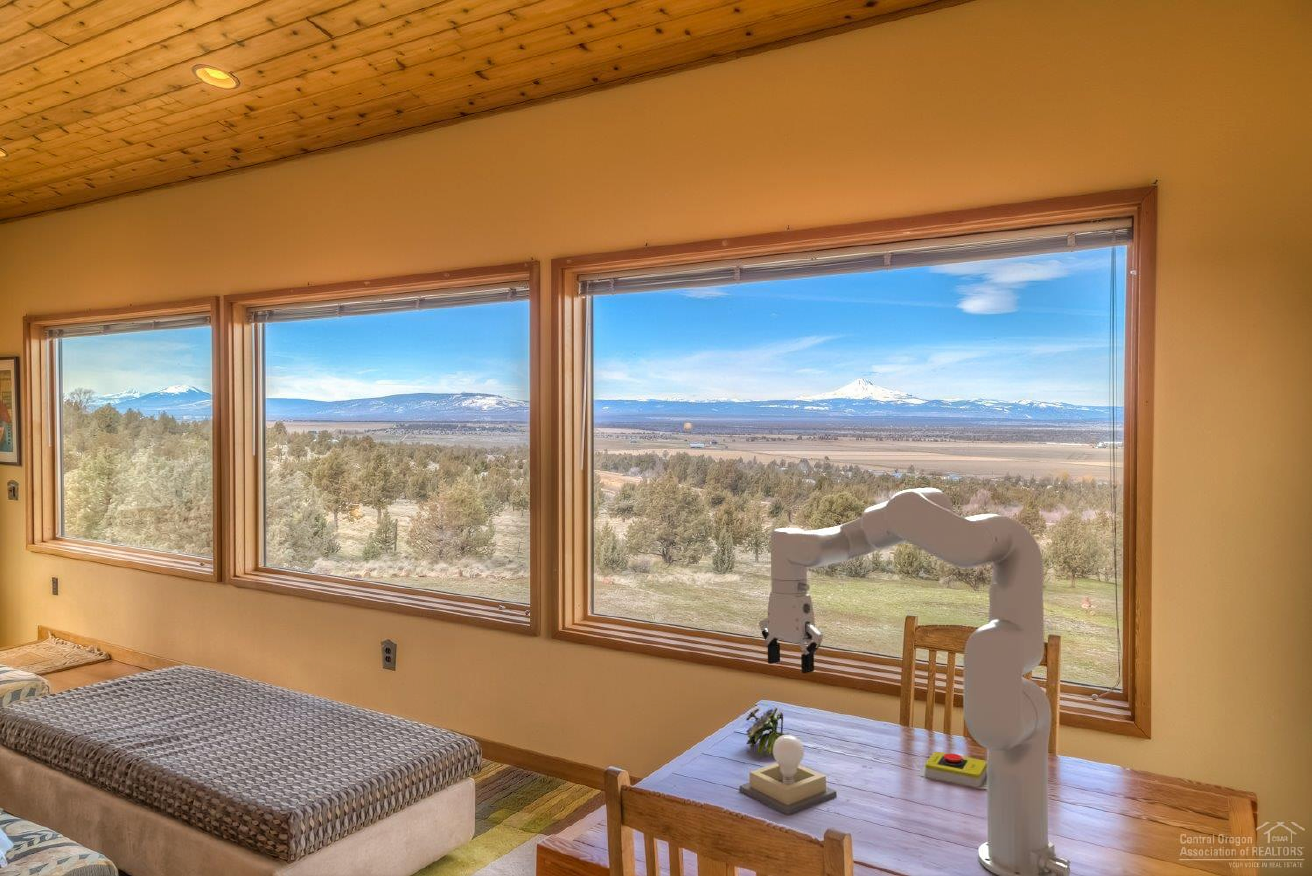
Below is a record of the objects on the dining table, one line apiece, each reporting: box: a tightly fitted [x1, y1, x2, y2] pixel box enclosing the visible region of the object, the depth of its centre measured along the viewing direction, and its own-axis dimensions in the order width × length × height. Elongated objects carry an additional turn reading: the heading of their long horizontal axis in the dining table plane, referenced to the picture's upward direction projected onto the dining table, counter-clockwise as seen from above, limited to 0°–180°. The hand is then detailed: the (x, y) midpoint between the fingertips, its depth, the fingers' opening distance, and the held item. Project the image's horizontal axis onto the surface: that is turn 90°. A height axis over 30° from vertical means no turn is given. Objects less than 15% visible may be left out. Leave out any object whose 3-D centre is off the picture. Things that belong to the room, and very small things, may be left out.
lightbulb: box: [772, 734, 805, 785], centre depth 170 cm, size 6×6×11 cm
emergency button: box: [918, 751, 987, 791], centre depth 178 cm, size 9×4×15 cm
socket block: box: [739, 762, 837, 816], centre depth 170 cm, size 14×14×4 cm
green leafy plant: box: [745, 707, 790, 758], centre depth 195 cm, size 11×11×12 cm
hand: (790, 667), depth 175 cm, fingers open, 9 cm apart
